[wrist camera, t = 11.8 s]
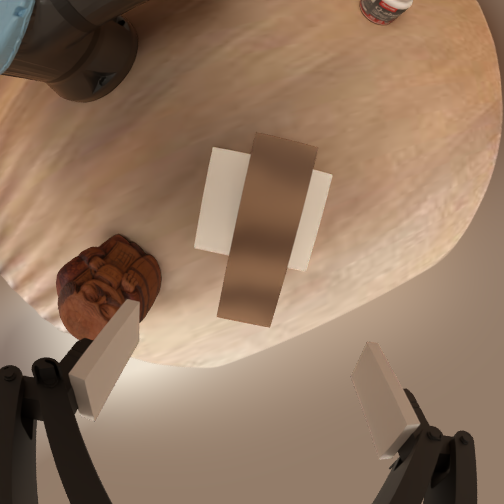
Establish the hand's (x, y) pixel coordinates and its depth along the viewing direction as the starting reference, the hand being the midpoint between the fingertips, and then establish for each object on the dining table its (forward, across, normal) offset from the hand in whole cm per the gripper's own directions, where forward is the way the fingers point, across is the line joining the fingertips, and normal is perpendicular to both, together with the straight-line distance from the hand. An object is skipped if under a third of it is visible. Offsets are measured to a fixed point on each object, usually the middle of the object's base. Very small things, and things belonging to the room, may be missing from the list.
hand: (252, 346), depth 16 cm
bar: (+17, 0, +3) cm, 18 cm away
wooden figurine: (+27, -17, -9) cm, 33 cm away
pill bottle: (+27, +11, +38) cm, 47 cm away
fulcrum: (+26, 0, +3) cm, 27 cm away
